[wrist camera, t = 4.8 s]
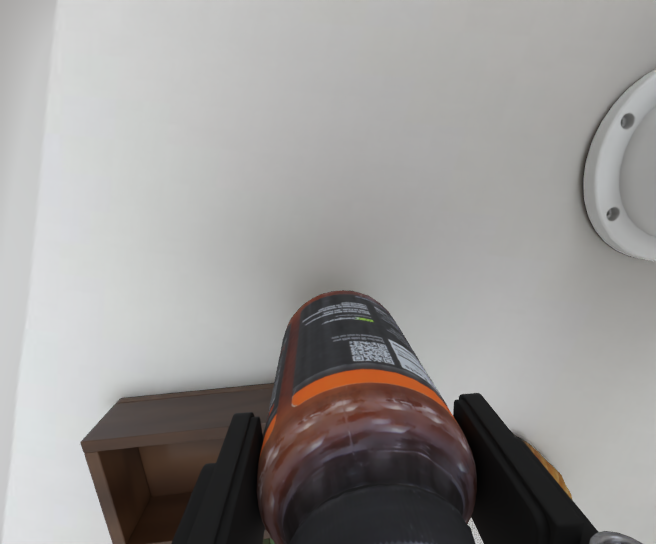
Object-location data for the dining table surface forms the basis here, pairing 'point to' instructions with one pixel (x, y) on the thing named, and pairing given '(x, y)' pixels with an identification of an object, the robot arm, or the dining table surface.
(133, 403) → the grid
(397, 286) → the dining table surface
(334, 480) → the supplement bottle
